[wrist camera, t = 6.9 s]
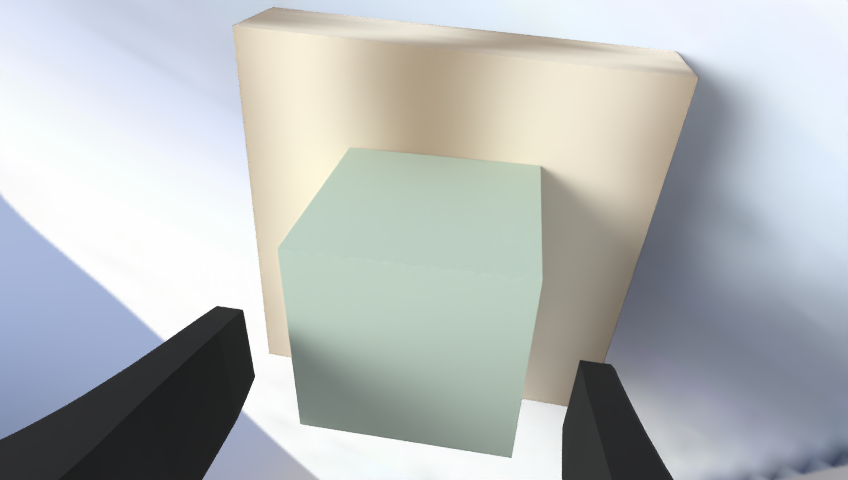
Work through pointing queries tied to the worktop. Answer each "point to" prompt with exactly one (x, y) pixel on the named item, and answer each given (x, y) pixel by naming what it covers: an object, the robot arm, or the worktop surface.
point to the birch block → (471, 146)
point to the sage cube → (416, 298)
